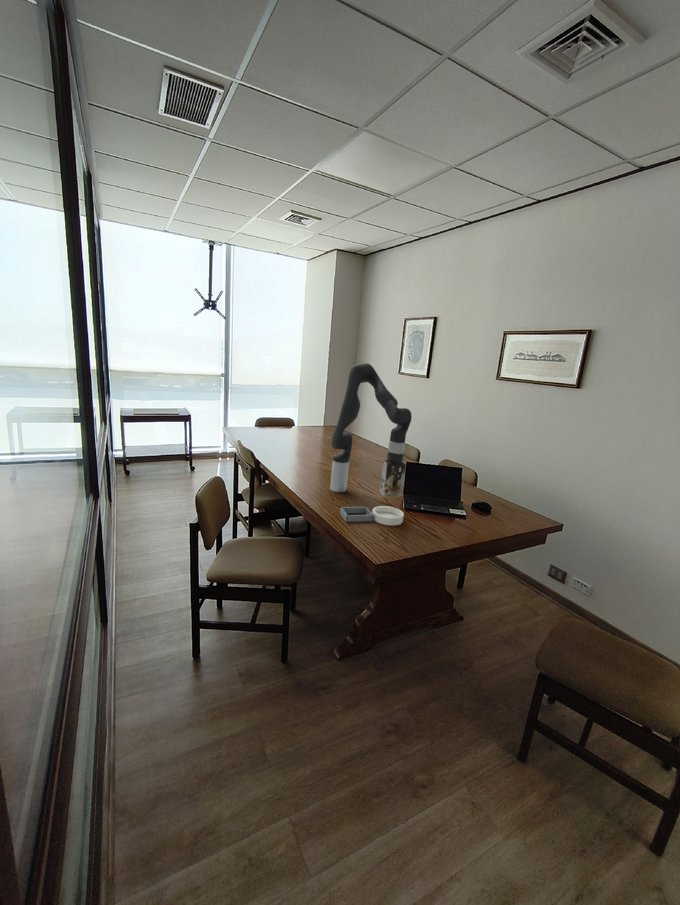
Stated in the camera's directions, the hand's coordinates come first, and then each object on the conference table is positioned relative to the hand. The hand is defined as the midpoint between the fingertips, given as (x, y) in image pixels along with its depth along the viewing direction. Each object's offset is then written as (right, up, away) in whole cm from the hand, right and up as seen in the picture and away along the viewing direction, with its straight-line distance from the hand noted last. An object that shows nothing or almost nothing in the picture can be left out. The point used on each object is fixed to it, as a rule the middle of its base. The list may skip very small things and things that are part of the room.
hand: (391, 484), depth 190 cm
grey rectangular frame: (-17, -16, +3) cm, 23 cm away
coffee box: (0, -5, +1) cm, 5 cm away
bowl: (-2, -17, +4) cm, 18 cm away
